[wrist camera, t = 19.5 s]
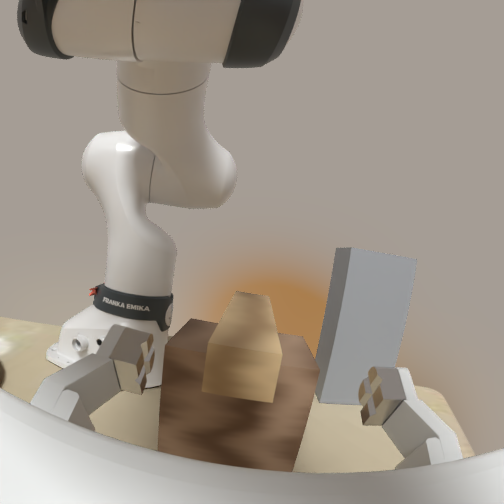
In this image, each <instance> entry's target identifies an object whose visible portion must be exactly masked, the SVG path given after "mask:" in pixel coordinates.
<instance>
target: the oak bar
mask: <svg viewBox="0 0 504 504" xmlns="http://www.w3.org/2000/svg"><path fill="white" fill-rule="evenodd" d="M282 355H283V354H282V350H281V345H280V341H279V337H278V332H277V328H276V324H275V320H274V315H273V311H272V307H271V303H270V298H269V296H263V295H257V294H251V293H244V292H239V291H236V292H235V294H234V296H233V298H232V300H231V302H230V304H229V305H228V307H227V309H226V311H225V312H224V314H223V316H222V318H221V320H220V322H219V323H218V325H217V327H216V329H215V331H214V332H213V334H212V336H211V338H210V340H209V342H208V346H207V353H206V361H205V368H204V376H203V383H202V392H207V393H212V394H218V395H223V396H229V397H235V398H241V399H248V400H255V401H262V402H270V403H273V398H274V394H275V389H276V384H277V380H278V375H279V370H280V365H281V360H282Z"/></svg>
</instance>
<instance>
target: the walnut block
mask: <svg viewBox="0 0 504 504" xmlns="http://www.w3.org/2000/svg"><path fill="white" fill-rule="evenodd" d="M217 325H218V323H212V322H207V321H202V320H197V319H190V320H189V321H188V322H187V323H186V324H185V325H184V326H183V327H182V328H181V329H180V330H179V331H178V332H177V333H176V334H175V335H174V336H173V337H172V338H171V339H170V340H169V341H168V342H167V343H166V344H165V350H164V360H163V372H162V384H161V398H160V413H159V432H158V451H159V452H163V453H167V454H172V455H176V456H180V457H185V458H190V459H194V460H200V461H205V462H210V463H216V464H222V465H229V466H236V467H243V468H252V469H261V470H272V471H285V472H292V470H293V467H294V464H295V461H296V458H297V454H298V451H299V448H300V444H301V441H302V437H303V434H304V430H305V427H306V423H307V420H308V416H309V412H310V409H311V405H312V401H313V397H314V393H315V389H316V385H317V381H318V377H319V373H320V368H319V367H318V365H317V363H316V361H315V359H314V357H313V355H312V353H311V351H310V349H309V347H308V345H307V344H306V342H305V340H304V338H303V336H295V335H288V334H281V333H278V337H279V341H280V345H281V350H282V354H283V355H282V360H281V365H280V370H279V375H278V380H277V384H276V389H275V394H274V398H273V403H270V402H262V401H255V400H248V399H241V398H235V397H229V396H223V395H218V394H212V393H207V392H202V383H203V376H204V368H205V361H206V353H207V346H208V342H209V340H210V338H211V336H212V334H213V332H214V331H215V329H216V327H217Z"/></svg>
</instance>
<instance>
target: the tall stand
mask: <svg viewBox="0 0 504 504" xmlns="http://www.w3.org/2000/svg"><path fill="white" fill-rule="evenodd" d="M416 263H417V259H412V258H406V257H401V256H396V255H390V254H385V253H379V252H374V251H368V250H362V249H357V248H336V252H335V258H334V264H333V271H332V277H331V282H330V288H329V294H328V299H327V304H326V310H325V315H324V320H323V325H322V330H321V335H320V340H319V344H318V349H317V354H316V358H315V361H316V363H317V365H318V367H319V368H320V373H319V377H318V381H317V385H316V389H315V393H316V396H317V398H318V400H319V403H331V404H349V405H361V404H360V402H359V398H358V391H359V387H360V384H361V383H362V381H363V379H365V378H367V377H368V371H369V369H370V368H371V367H373V366H376V367H395V364H396V361H397V356H398V353H399V349H400V345H401V341H402V337H403V332H404V328H405V324H406V319H407V314H408V309H409V304H410V299H411V294H412V288H413V282H414V277H415V270H416Z"/></svg>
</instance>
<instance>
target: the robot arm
mask: <svg viewBox="0 0 504 504" xmlns="http://www.w3.org/2000/svg"><path fill="white" fill-rule="evenodd" d="M302 11H303V0H19V4H18V11H17V18H18V19H17V20H18V27H19V30H20V33H21V36H22V37H23V39H24V41H25V42H26V44H27V46H28V47H29V49H30V50H31V51H32V52H34V53H36V54H39V55H42V56H46V57H52V58H59V59H70V58H72V57H74V56H76V57H84V58H94V59H105V60H116V61H117V99H118V115H119V119H120V122H121V124H122V126H123V128H124V130H125V131H115V132H106V133H99V134H97V135H96V136H95V137H94V138H93V139H92V140H91V141H90V142H89V144H88V145H87V147H86V149H85V151H84V154H83V157H82V166H81V168H82V175H83V177H84V180H85V182H86V184H87V186H88V187H89V188H90V189H91V191H92V192H93V193H94V194H95V196H96V197H97V199H98V201H99V202H100V205H101V207H102V209H103V212H104V215H105V218H106V223H107V229H108V248H107V249H108V250H107V263H106V274H105V282H104V283H103V284H101V285H98V286H96V287H95V288H91V289H90V290H93V291H92V292H91V293H90V294H89V295H90V296H91V295H94V301H93V305H91V306H89V307H87V308H86V309H84V310H83V311H81V312H79V313H78V314H76V315H75V316H73V317H72V318H70V319H69V320H67V321H66V322H65V323H64V325H63V326H62V328H61V332H60V336H59V342H57V343H55V344H53V345H52V346H51V347H50V348H49V349H48V350H47V353H46V359H47V360H49V361H50V362H52V363H54V364H56V365H58V366H59V367H61V368H63V369H61V370H60V371H58V372H56V373H54V374H52V375H50V376H48V377H46V378H45V379H44V380H43V382H42V383H41V385H40V387H39V389H38V390H37V392H36V394H35V395H34V397H33V399H32V401H31V402H30V403H28V402H26V401H24V400H22V399H20V398H18V397H16V396H14V395H12V394H10V393H9V392H7V391H5V390H3V389H2V388H0V504H504V448H502V449H498V450H495V451H491V452H488V453H484V454H480V455H476V456H472V457H468V458H464V459H463V457H462V453H461V449H460V446H459V442H458V439H457V436H456V433H455V432H453V431H452V430H451V429H450V428H449V427H448V426H447V425H446V424H445V423H444V422H443V421H442V420H441V419H440V418H439V417H438V416H437V415H436V414H435V413H434V412H433V411H432V410H431V409H430V408H429V407H428V406H427V405H426V404H425V403H424V402H423V401H422V400H418V397H417V394H416V391H415V388H414V385H413V382H412V378H411V375H410V373H409V370H408V369H407V368H395V367H376V366H373V367H371V368H370V369H369V371H368V377H367V378H365V379H363V381H362V383H361V384H360V387H359V391H358V398H359V402H360V404H361V405H362V406H363V408H362V410H361V417H362V423H363V425H372V426H382V428H383V429H384V431H385V432H386V433H387V435H388V436H389V438H390V439H391V440H392V442H393V443H394V444H395V446H396V447H397V448H398V450H399V451H400V453H401V454H402V455H403V457H404V458H405V459H404V460H402V461H401V462H400V463H399V464H398V465H397V466H396V467H395V470H386V471H373V472H354V473H304V472H285V471H272V470H261V469H252V468H243V467H236V466H229V465H222V464H216V463H210V462H205V461H200V460H194V459H190V458H185V457H180V456H176V455H172V454H167V453H163V452H159V451H155V450H152V449H148V448H144V447H141V446H137V445H134V444H131V443H127V442H124V441H121V440H118V439H115V438H112V437H109V436H106V435H103V434H100V433H97V432H95V428H94V425H93V424H92V422H91V420H90V418H89V416H88V415H90V414H91V413H92V412H94V411H95V410H96V409H98V408H99V407H100V406H102V405H103V404H104V403H106V402H107V401H108V400H110V399H111V398H112V397H113V396H115V395H116V394H117V393H119V392H120V391H121V390H123V391H127V392H131V393H135V394H139V395H142V393H143V391H144V388H149V387H155V386H159V385H161V384H162V372H163V360H164V350H165V344H166V343H167V342H168V328H169V327H170V324H171V319H172V311H173V294H172V293H171V291H172V283H173V276H174V269H175V262H176V256H177V250H176V245H175V243H174V241H173V239H172V238H171V237H170V235H168V234H167V233H166V232H165V231H164V230H162V229H161V228H160V227H159V226H157V225H156V224H154V223H153V222H151V221H150V220H149V219H148V218H147V216H146V204H147V203H158V204H164V205H170V206H176V207H182V208H188V209H205V208H218V207H220V206H221V205H223V204H224V203H225V202H226V201H227V200H228V199H229V197H230V196H231V195H232V193H233V191H234V189H235V186H236V181H237V169H236V165H235V161H234V159H233V157H232V156H231V154H230V153H229V152H228V151H227V150H225V149H224V148H223V147H222V146H220V145H219V144H218V143H217V142H216V141H215V139H214V138H213V137H212V135H211V134H210V132H209V131H208V129H207V127H206V125H205V121H204V102H205V94H206V88H207V82H208V77H209V73H210V68H211V63H222V64H223V67H224V68H252V67H261V66H263V65H265V64H267V63H268V62H270V61H272V60H274V59H276V58H277V57H278V56H279V55H280V54H281V53H282V51H283V49H284V47H285V46H286V44H287V43H288V42H289V41H290V40H291V38H292V37H293V35H294V33H295V32H296V30H297V27H298V26H299V23H300V20H301V16H302Z"/></svg>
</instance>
